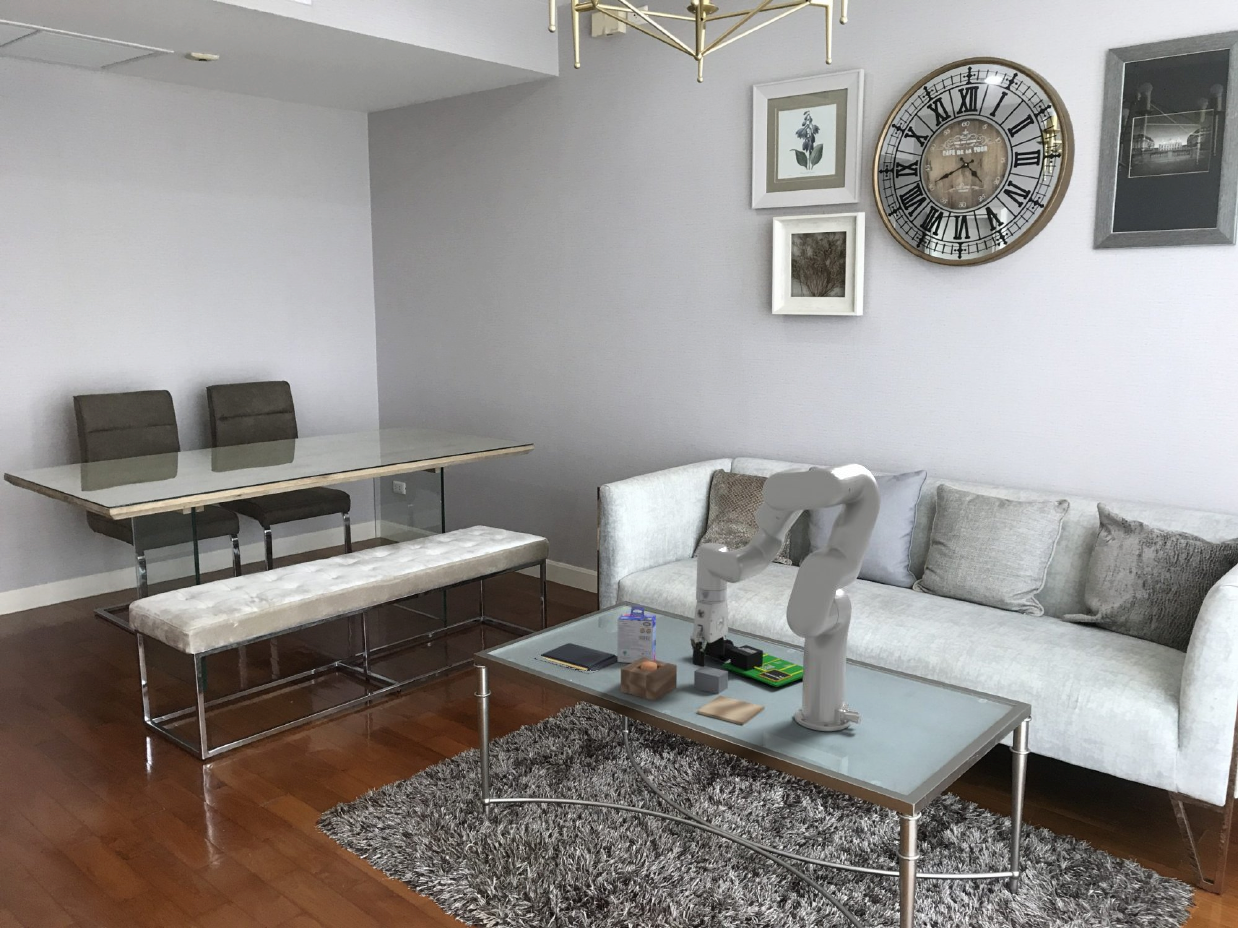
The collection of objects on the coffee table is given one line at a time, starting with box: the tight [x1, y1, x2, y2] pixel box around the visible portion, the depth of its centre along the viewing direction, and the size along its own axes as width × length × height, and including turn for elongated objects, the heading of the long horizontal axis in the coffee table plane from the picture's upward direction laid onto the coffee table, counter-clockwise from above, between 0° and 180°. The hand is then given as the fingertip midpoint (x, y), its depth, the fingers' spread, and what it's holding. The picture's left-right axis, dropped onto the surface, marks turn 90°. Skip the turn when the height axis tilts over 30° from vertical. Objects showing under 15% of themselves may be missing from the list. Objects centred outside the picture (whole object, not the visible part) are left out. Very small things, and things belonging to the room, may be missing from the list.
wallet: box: [540, 642, 618, 672], centre depth 266 cm, size 20×2×15 cm
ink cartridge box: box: [616, 606, 657, 664], centre depth 263 cm, size 10×6×14 cm, turn 79°
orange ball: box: [641, 662, 657, 672], centre depth 243 cm, size 4×4×4 cm
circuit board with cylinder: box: [699, 637, 803, 688], centre depth 258 cm, size 30×7×15 cm
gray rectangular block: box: [693, 665, 729, 695], centre depth 245 cm, size 7×4×4 cm, turn 55°
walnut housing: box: [620, 657, 678, 702], centre depth 243 cm, size 10×10×6 cm
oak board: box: [696, 695, 765, 726], centre depth 231 cm, size 12×11×1 cm
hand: (708, 659), depth 245 cm, fingers open, 9 cm apart
